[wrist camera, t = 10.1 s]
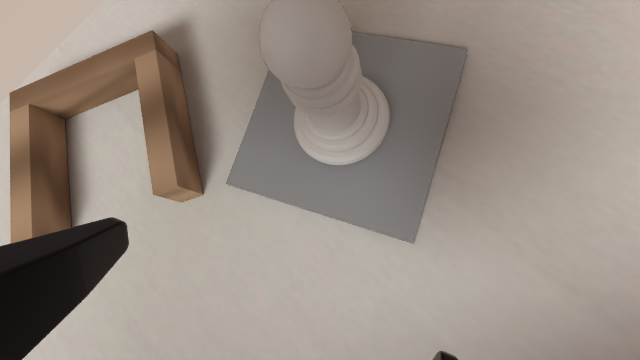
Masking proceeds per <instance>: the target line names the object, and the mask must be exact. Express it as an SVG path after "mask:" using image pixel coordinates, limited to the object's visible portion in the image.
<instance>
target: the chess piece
mask: <svg viewBox="0 0 640 360" xmlns="http://www.w3.org/2000/svg"><path fill="white" fill-rule="evenodd" d="M259 43H260V49H261V53H262V56H263V59H264V61H265V63H266V65H267V67H268V68H269V70H270V71H271V72H272V73H273V74H274V75H275V76H276V77H277V78H278V79H280V80H281V84H282V87H283V89H284V91H285V92H286V94H287V95H288V96H289V98H290V100H291V102H292V103H293V104H294V105H295V107H296V109H295V113H294V130H295V135H296V138H297V140H298V142H299V144H300V146H301V147H302V149H303V150H304V151H305V152H306V153H307V154H308V155H309V156H311V157H312V158H314V159H315V160H318V161H320V162H322V163H326V164H331V165H347V164H351V163H355V162H358V161H360V160H362V159H364V158H366V157H367V156H369V155H370V154H371V153H372V152H373V151H375V150H376V148H377V147H378V146H379V145H380V144H381V142H382V141H383V139H384V137H385V135H386V133H387V130H388V128H389V122H390V110H389V105H388V102H387V100H386V97H385V96H384V94H383V92H382V91H381V90H380V89H379V87H378V86H377V85H375V84H374V83H373V82H372V81H370V80H369V79H367V78H365V77H363V76H362V71H361V67H360V60H359V55H358V53H357V51H356V49H355V47H354V46H353V45H352V30H351V25H350V21H349V18H348V15H347V13H346V11H345V9H344V8H343V6H342V5H341V3H340V2H339V1H338V0H272V2H271V3H270V4H269V5H268V7H267V8H266V10H265V12H264V14H263V17H262V20H261V23H260V29H259Z"/></svg>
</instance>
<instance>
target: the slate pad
mask: <svg viewBox="0 0 640 360" xmlns="http://www.w3.org/2000/svg"><path fill="white" fill-rule="evenodd" d="M352 45H353V46H354V47H355V49H356V51H357V53H358V55H359V60H360V67H361V71H362V76H363V77H365V78H367V79H369V80H370V81H372V82H373V83H374V84H375V85H377V86H378V87H379V89H380V90H381V91H382V92H383V94H384V96H385V97H386V100H387V102H388V105H389V110H390V122H389V128H388V130H387V133H386V135H385V137H384V139H383V141H382V142H381V144H380V145H379V146H378V147H377V148H376V150H375V151H373V152H372V153H371V154H370V155H369V156H367V157H366V158H364V159H362V160H360V161H358V162H355V163H351V164H347V165H331V164H326V163H322V162H320V161H318V160H315V159H314V158H312V157H311V156H309V155H308V154H307V153H306V152H305V151H304V150H303V149H302V147H301V146H300V144H299V142H298V140H297V138H296V135H295V130H294V113H295V109H296V107H295V105H294V104H293V103H292V102H291V100H290V98H289V96H288V95H287V94H286V92H285V91H284V89H283V87H282V84H281V80H280V79H278V78H277V77H276V76H275V75H274V74H273V73H272V72H271V71H270V70H269V72H268V75H267V78H266V80H265V83H264V85H263V88H262V91H261V93H260V96H259V98H258V101H257V104H256V106H255V109H254V112H253V114H252V117H251V119H250V122H249V125H248V127H247V130H246V132H245V135H244V138H243V140H242V143H241V145H240V148H239V151H238V153H237V156H236V159H235V161H234V164H233V166H232V169H231V172H230V174H229V177H228V179H227V182H226V184H228V185H231V186H234V187H237V188H240V189H243V190H247V191H250V192H253V193H256V194H259V195H262V196H265V197H269V198H272V199H275V200H278V201H281V202H284V203H287V204H290V205H294V206H297V207H300V208H303V209H306V210H309V211H312V212H316V213H319V214H322V215H325V216H328V217H331V218H334V219H338V220H341V221H344V222H347V223H350V224H353V225H356V226H359V227H363V228H366V229H369V230H372V231H375V232H378V233H381V234H385V235H388V236H391V237H394V238H397V239H400V240H403V241H407V242H410V243H414V240H415V236H416V232H417V229H418V225H419V222H420V218H421V215H422V211H423V208H424V204H425V201H426V197H427V194H428V190H429V186H430V183H431V179H432V176H433V172H434V169H435V165H436V162H437V158H438V155H439V151H440V148H441V144H442V140H443V137H444V133H445V130H446V126H447V123H448V119H449V116H450V112H451V109H452V105H453V102H454V98H455V94H456V91H457V87H458V84H459V80H460V77H461V73H462V70H463V66H464V63H465V59H466V56H467V52H468V49H465V48H459V47H452V46H445V45H439V44H432V43H426V42H419V41H412V40H406V39H399V38H392V37H386V36H379V35H372V34H366V33H359V32H353V31H352Z"/></svg>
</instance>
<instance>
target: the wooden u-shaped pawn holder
mask: <svg viewBox="0 0 640 360" xmlns="http://www.w3.org/2000/svg"><path fill="white" fill-rule="evenodd" d="M138 89H139V96H140V103H141V110H142V117H143V125H144V132H145V139H146V146H147V154H148V161H149V168H150V175H151V183H152V190H153V195H156V196H160V197H164V198H167V199H171V200H175V201H179V202H184V201H187V200H189V199H192V198H195V197H198V196H201V195H203V190H202V185H201V179H200V174H199V169H198V163H197V158H196V152H195V147H194V141H193V136H192V131H191V125H190V120H189V114H188V109H187V103H186V98H185V92H184V87H183V82H182V76H181V71H180V65H179V60H178V54H177V53H176V52H175V51H174V50H173V49H172V48H171V47H170V46H169V45H168V44H166V43H165V42H164V41H163V40H162V39H161V38H160V37H159V36H158V35H157V34H156V33H155V32H154V31H153V30H152V31H149V32H147V33H145V34H143V35H140V36H138V37H136V38H133V39H131V40H129V41H127V42H124V43H122V44H120V45H118V46H115V47H113V48H111V49H108V50H106V51H104V52H102V53H99V54H97V55H95V56H92V57H90V58H88V59H86V60H83V61H81V62H79V63H77V64H74V65H72V66H70V67H67V68H65V69H63V70H61V71H58V72H56V73H54V74H51V75H49V76H47V77H45V78H42V79H40V80H38V81H35V82H33V83H31V84H29V85H26V86H24V87H22V88H20V89H17V90H15V91H13V92H10V197H11V243H15V242H19V241H22V240H26V239H30V238H34V237H38V236H41V235H45V234H49V233H53V232H57V231H61V230H64V229H68V228H71V212H70V195H69V179H68V163H67V146H66V130H65V119H67V118H70V117H72V116H75V115H77V114H79V113H82V112H84V111H87V110H89V109H92V108H94V107H96V106H99V105H101V104H104V103H106V102H108V101H111V100H113V99H116V98H118V97H121V96H123V95H125V94H128V93H130V92H133V91H135V90H138Z"/></svg>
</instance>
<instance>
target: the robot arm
mask: <svg viewBox="0 0 640 360" xmlns="http://www.w3.org/2000/svg"><path fill="white" fill-rule="evenodd" d="M128 245H129V240H128V231H127V225H126V223H125V222H124V221H121V220H119V219H116V218H106V219H102V220H99V221H95V222H91V223H87V224H83V225H80V226H76V227H72V228H68V229H64V230H61V231H57V232H53V233H49V234H45V235H41V236H38V237H34V238H30V239H26V240H22V241H19V242H15V243H11V244H7V245H3V246H0V360H22V359H23V358H24V357H25V356H26V355H27V354H28V353H29V352H30V351H31V350H32V349H33V348H34V347H35V346H37V345H38V344H39V343H40V342H41V341H42V340H43V339H44V338H45V337H46V336H47V335H48V334H49V333H50V332H51V331H52V330H53V329H54V328H55V327H56V326H57V325H58V324H59V323H60V322H61V321H62V320H63V319H64V318H65V317H66V316H67V315H68V314H69V313H70V312H71V311H72V310H73V309H74V308H75V307H77V306H78V305H79V304H80V303H81V302H82V301H83V300H84V299H85V298H86V296H87V295H88V294H89V293H90V292H91V291H92V290H93V289H94V288H95V287H96V285H97V284H98V283H99V282H100V281H101V280H102V278H103V277H104V276H105V275H106V274H107V273H108V271H109V270H110V269H111V268H112V267H113V266H114V264H115V263H116V262H117V261H118V260H119V259H120V257H121V256H122V255H123V254H124V253H125V251H126V250H127V248H128ZM433 360H458V359H457V358H456V357H455V356H453V355H451V354H448V353H446V352H444V351H439V352H438V353H437V354H436V356H435V357H434V359H433Z"/></svg>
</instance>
